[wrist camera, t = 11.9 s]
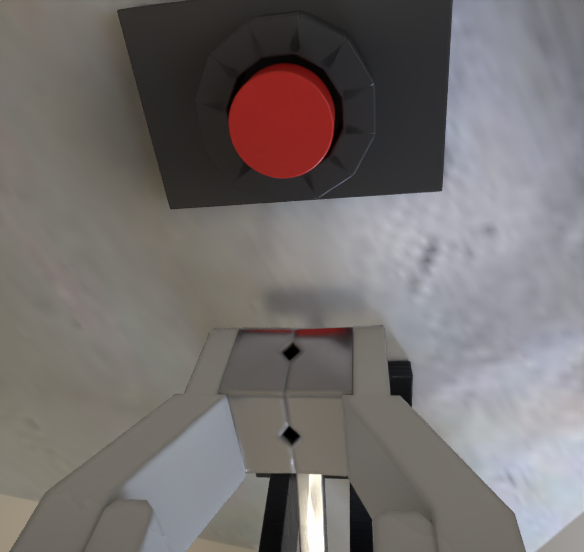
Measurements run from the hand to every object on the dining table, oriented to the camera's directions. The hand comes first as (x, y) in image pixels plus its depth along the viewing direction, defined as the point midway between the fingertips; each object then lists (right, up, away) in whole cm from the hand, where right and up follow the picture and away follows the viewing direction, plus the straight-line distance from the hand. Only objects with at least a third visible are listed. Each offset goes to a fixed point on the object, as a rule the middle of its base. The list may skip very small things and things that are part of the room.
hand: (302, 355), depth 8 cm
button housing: (0, +9, +11) cm, 14 cm away
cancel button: (0, +7, +9) cm, 12 cm away
